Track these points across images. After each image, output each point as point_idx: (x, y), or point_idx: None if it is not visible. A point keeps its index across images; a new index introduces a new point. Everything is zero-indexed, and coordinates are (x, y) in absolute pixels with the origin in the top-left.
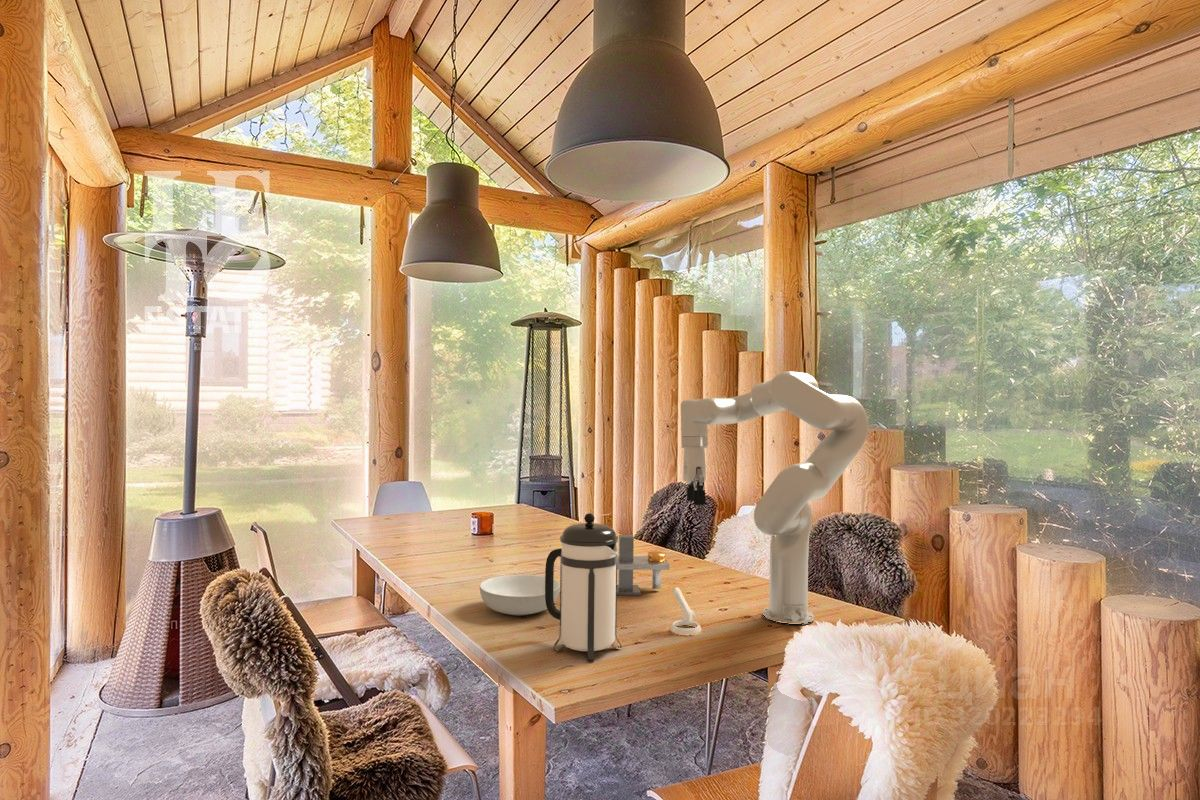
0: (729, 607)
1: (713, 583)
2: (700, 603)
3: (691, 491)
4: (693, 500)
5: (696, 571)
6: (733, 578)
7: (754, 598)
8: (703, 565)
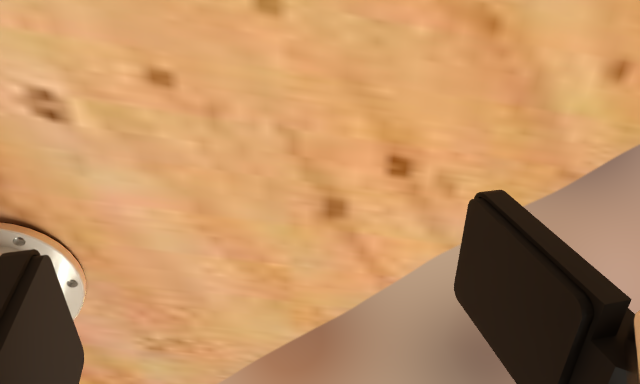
0: (79, 131)
1: (394, 121)
2: (111, 29)
3: (531, 310)
4: (460, 251)
5: (560, 84)
6: (447, 193)
7: (210, 222)
8: (626, 121)
